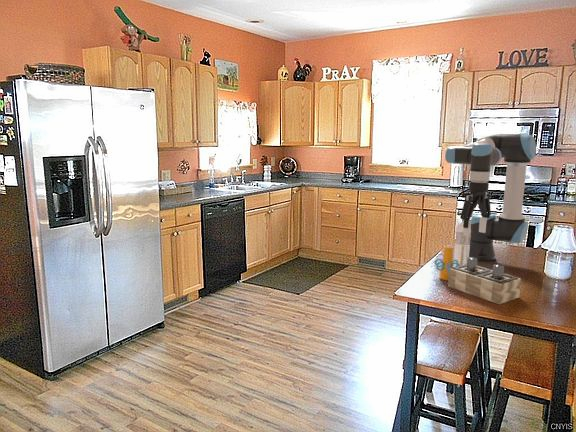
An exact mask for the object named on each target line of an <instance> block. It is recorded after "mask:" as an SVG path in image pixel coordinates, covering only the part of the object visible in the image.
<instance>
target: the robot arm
mask: <svg viewBox="0 0 576 432" xmlns="http://www.w3.org/2000/svg"><path fill="white" fill-rule="evenodd" d="M536 144H537V143H536V138H535V137H534V136H533V135H532V134H524V133H520V134H519V133H515V134H514V133H497V134H491V135H488V136H484V137H481V138H479V139H478V140H477V141H474V142H471V143H468V144H467V143H466V144H464V145H461V146H455V145H454V146H448V147H447V148H446V151H445V158H444V159H445V161H446V163H449V164H454V165H458V164H459V165H470V169H469V170H470V171H469V182H468V191H470V194H469V195H468V194H465V195H464V202H463V206H462V209H461V212H460V219H461V220H462V221H463V220H464V224H463V227H464V228H463V235H466V236H470V227H471V228H472V230H471V238H470V251H469V252H470V253H469V257H474V258H477V259H478V260H477V261H478V262H479V261H480V262H491V261H494V260H495V259H496V252H495V248H494V241H496V242H503V243H509V244H516V245H519V244H521V243H522V242H523V241H524V240H525V237H526V235H527V232H528V229H529V223H528V222H527V221H525V216H524V215H523V214H522V213H523V203H524V193H525V184H526V183H525V182H526V173H527V166H529V164H531V160H534V159H535V157H536V153H537V145H536ZM502 159H503V162H504V164H505V165H506V172H505V181H504V183H505V184H504V192H503V193H504V194H503V195H504V196H503V205H502V212H501V213H500V214H499V215H498V217H497V215H496V214H495V213H492V212H491V211H492V210H491V200H490V199H491V193H488V191H489V185H490V183H489V181H490V175H491V174H490V173H491V172H490V171H491V167H492V166H495V165H497V164H499V163H500V161H501V160H502ZM477 206H478V208H479V212H480V213H479V214H474V215H473V213H474V211H475V210H476V209H475V208H476V207H477Z"/></svg>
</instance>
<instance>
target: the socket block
mask: <svg viewBox="0 0 576 432" xmlns="http://www.w3.org/2000/svg"><path fill="white" fill-rule="evenodd" d="M466 269H467V264H464V265H461V266H457V267H453V268H450V269H449V278H448V280H447V287H448V288H451V289H454V290H458V291H460V292H464V293H465V294H469V295H471V296H474V297H477V298H481V299H483V300H486V301H489V302H492V303H494V304H497V305H502V304H504V303H507V302H509V301H513V300H515V299H518V298H520V295H521V294H520V293H521V284H522V278H521V277H518V276H513V275H510V274H507V273H504V272H503V279H502V280H497V279H494V278H492V272H493V269H489V268H486V267H482V266H479V265H477V270H476V272H471V271H467V270H466Z"/></svg>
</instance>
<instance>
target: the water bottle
mask: <svg viewBox="0 0 576 432" xmlns="http://www.w3.org/2000/svg"><path fill="white" fill-rule="evenodd" d="M463 224H464V220H463V219H462V221H461V222H460V223H458V224H457V226H456V229H455V230H456V231H455V241H454V249H453V260H457V261H458V263H459V264H460V266H461V265H464V264H467V258H468V257H469V253H470V252H469V251H470V238H471V230H472V228H471V227H470V236H466V235H463V228H464V227H463ZM454 262H456V261H454ZM455 266H456V264H454V265H453V267H455Z"/></svg>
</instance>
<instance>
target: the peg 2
mask: <svg viewBox="0 0 576 432" xmlns="http://www.w3.org/2000/svg"><path fill="white" fill-rule="evenodd" d="M492 270H493V272H492V278H494V279H497V280H502V279H503V273H504V272H505V271H504V270H505V265H503V264H500V263H499V264H493V265H492Z"/></svg>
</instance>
